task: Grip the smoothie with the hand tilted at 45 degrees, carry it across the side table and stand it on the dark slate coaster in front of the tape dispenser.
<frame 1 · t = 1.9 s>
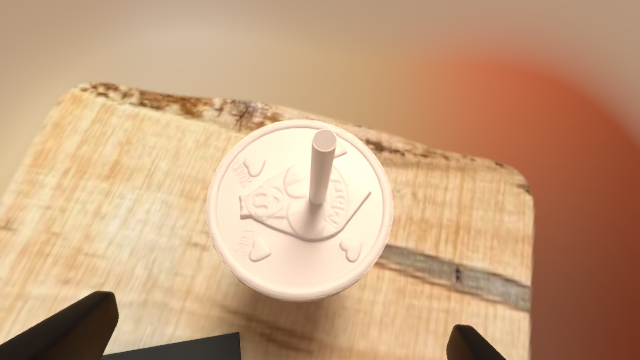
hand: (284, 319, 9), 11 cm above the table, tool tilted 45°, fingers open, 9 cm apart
smoothie: (301, 248, 21), on the table
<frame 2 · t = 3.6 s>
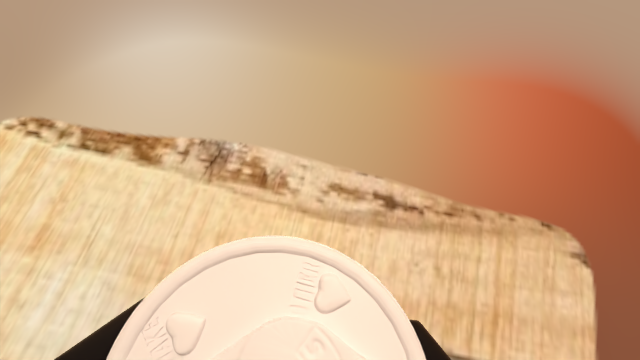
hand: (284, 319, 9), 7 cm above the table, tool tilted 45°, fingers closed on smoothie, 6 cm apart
smoothie: (288, 347, 16), on the table, touching gripper
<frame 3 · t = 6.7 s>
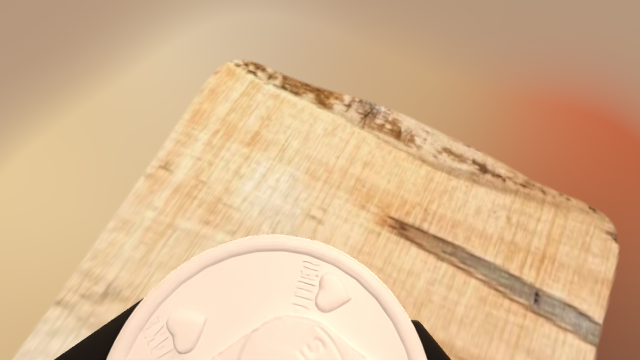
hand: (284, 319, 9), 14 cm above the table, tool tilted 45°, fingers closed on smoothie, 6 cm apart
smoothie: (288, 346, 16), point 6 cm above the table, touching gripper
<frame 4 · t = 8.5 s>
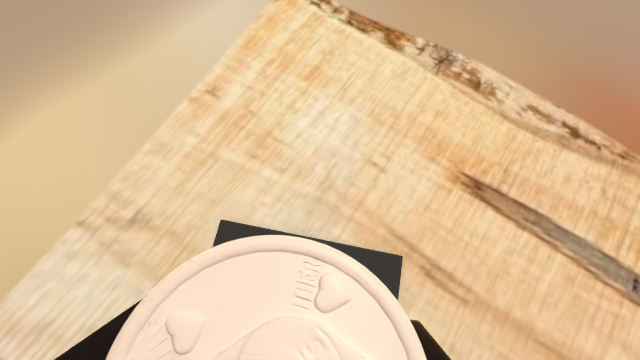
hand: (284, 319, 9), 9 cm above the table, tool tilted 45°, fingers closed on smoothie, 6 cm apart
smoothie: (288, 346, 16), point 2 cm above the table, touching gripper
coaster: (291, 336, 17), on the table
when the fingers open (8 cm above the table, at t = 9.6 s): smoothie stays where it is, resting on coaster.
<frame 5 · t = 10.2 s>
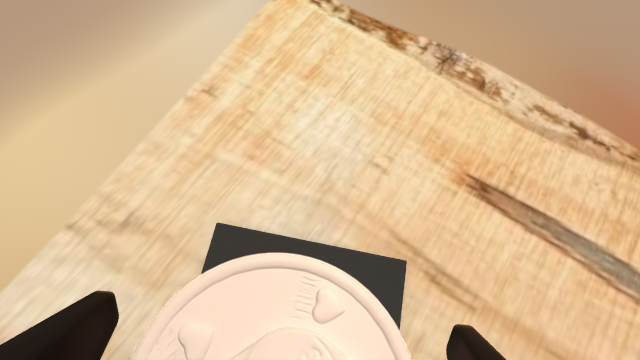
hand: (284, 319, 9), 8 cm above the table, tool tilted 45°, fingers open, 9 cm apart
smoothie: (289, 350, 16), resting on coaster
coaster: (290, 345, 17), on the table
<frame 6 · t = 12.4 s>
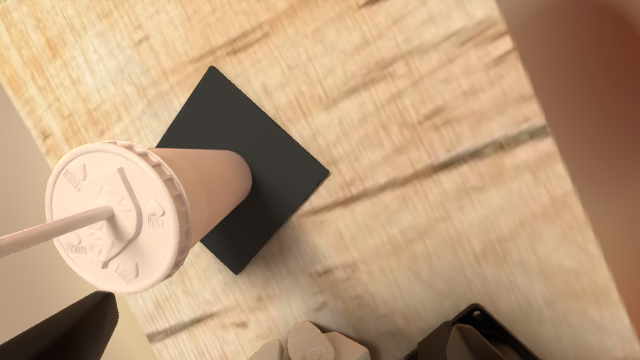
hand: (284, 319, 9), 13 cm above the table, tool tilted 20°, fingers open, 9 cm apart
smoothie: (227, 177, 23), resting on coaster
coaster: (226, 175, 23), on the table
tape dispenser: (321, 354, 25), on the table
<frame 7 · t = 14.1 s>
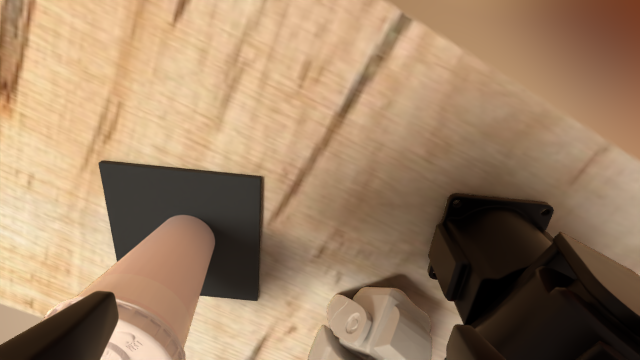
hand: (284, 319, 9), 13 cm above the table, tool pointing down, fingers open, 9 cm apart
smoothie: (188, 236, 24), resting on coaster
coaster: (187, 235, 24), on the table
tape dispenser: (366, 309, 26), on the table
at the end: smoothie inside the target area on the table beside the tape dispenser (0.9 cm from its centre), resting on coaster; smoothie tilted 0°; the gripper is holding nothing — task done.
